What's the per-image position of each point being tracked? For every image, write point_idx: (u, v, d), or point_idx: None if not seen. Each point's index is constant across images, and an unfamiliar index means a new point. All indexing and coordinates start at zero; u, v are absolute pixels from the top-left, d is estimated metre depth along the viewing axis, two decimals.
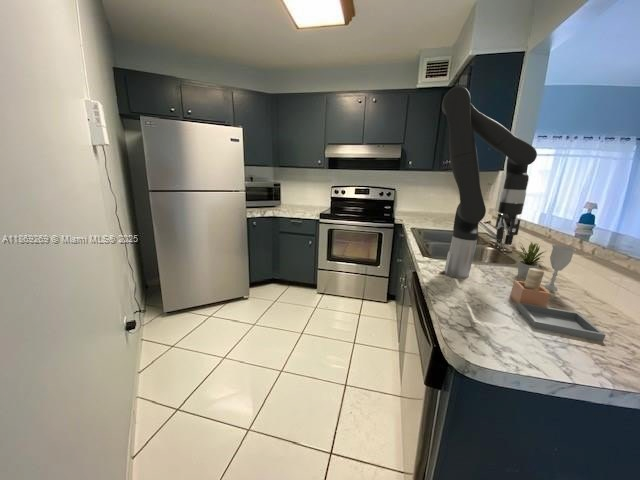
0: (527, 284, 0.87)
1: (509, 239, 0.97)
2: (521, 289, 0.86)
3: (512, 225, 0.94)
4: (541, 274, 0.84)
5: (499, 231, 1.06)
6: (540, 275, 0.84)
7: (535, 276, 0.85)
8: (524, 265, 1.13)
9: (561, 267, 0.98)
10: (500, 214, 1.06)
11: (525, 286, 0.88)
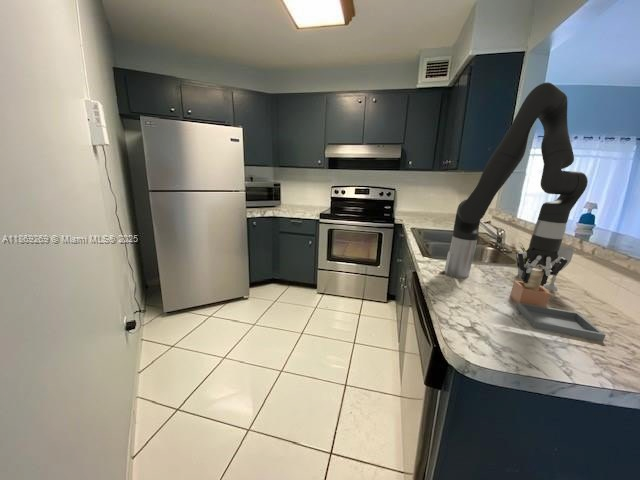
0: (527, 284, 0.87)
1: None
2: (521, 289, 0.86)
3: (562, 266, 0.83)
4: (541, 274, 0.84)
5: None
6: (540, 275, 0.84)
7: (535, 276, 0.85)
8: (524, 265, 1.13)
9: None
10: (521, 253, 0.85)
11: (525, 286, 0.88)
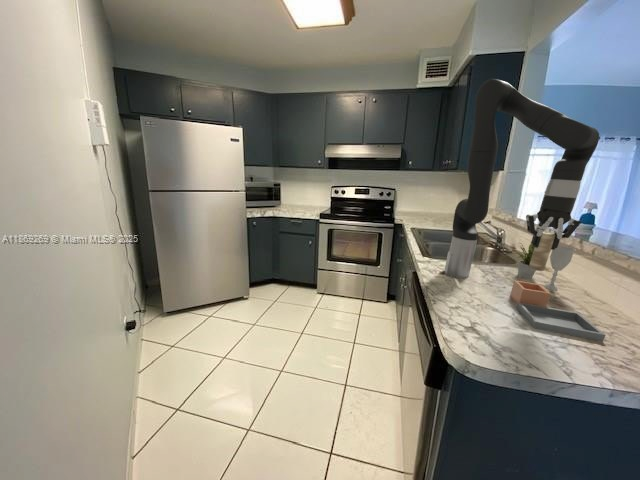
0: (538, 249, 0.83)
1: None
2: (521, 289, 0.86)
3: None
4: (552, 237, 0.81)
5: None
6: (551, 238, 0.81)
7: (546, 239, 0.81)
8: (524, 265, 1.13)
9: (561, 267, 0.98)
10: (532, 215, 0.82)
11: (535, 251, 0.84)
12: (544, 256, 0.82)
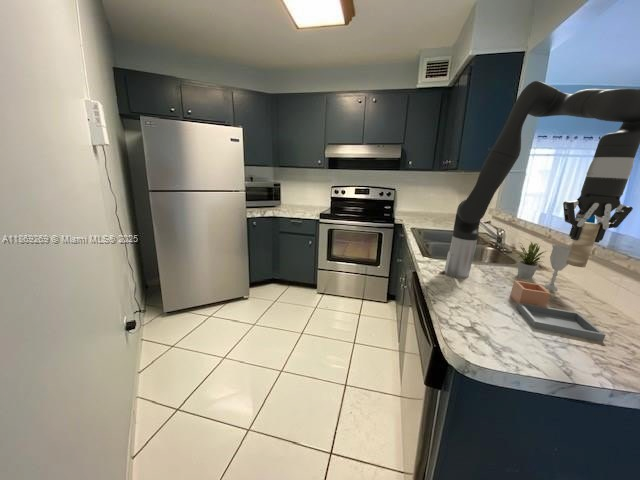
0: (578, 242, 0.70)
1: None
2: (521, 289, 0.86)
3: None
4: (597, 227, 0.67)
5: None
6: (596, 228, 0.67)
7: (590, 230, 0.68)
8: (524, 265, 1.13)
9: (561, 267, 0.98)
10: None
11: (574, 244, 0.71)
12: (586, 251, 0.69)
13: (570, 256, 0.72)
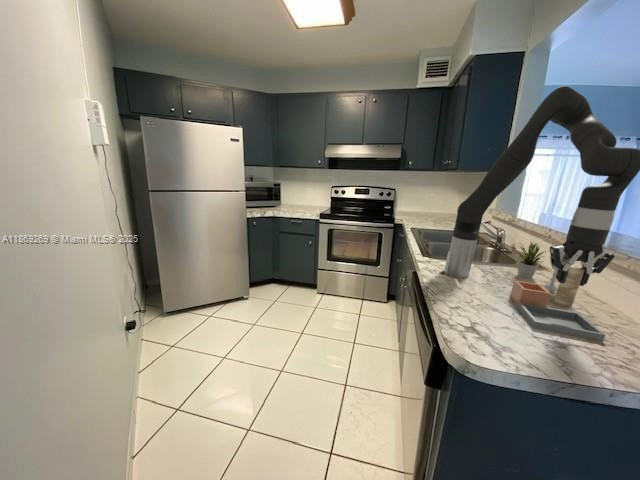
0: (564, 284, 0.73)
1: None
2: (521, 289, 0.86)
3: None
4: (581, 272, 0.71)
5: None
6: (580, 273, 0.71)
7: (574, 275, 0.71)
8: (524, 265, 1.13)
9: None
10: (557, 248, 0.72)
11: (561, 286, 0.74)
12: (572, 293, 0.73)
13: (557, 297, 0.75)
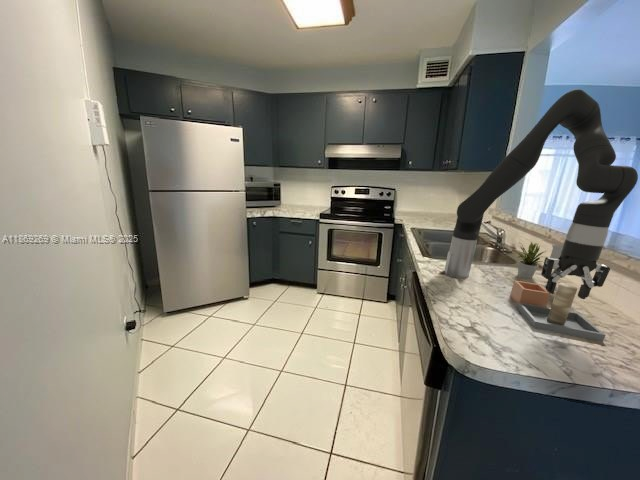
0: (557, 303, 0.75)
1: None
2: (521, 289, 0.86)
3: (606, 275, 0.70)
4: (574, 291, 0.72)
5: None
6: (572, 292, 0.72)
7: (567, 294, 0.73)
8: (524, 265, 1.13)
9: None
10: (553, 260, 0.73)
11: (554, 304, 0.76)
12: (564, 312, 0.74)
13: (550, 315, 0.77)
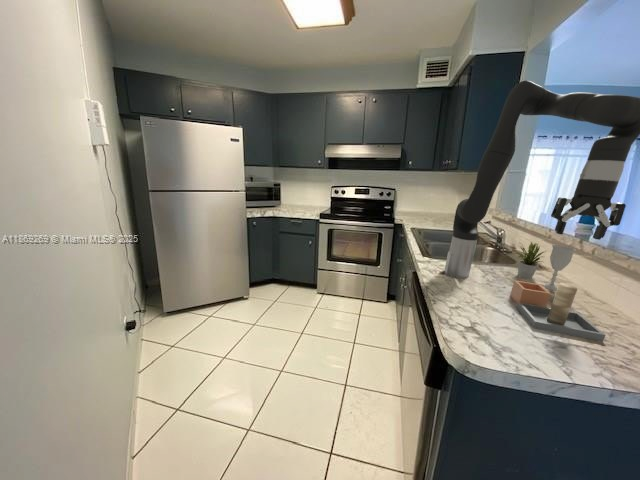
0: (557, 303, 0.75)
1: None
2: (521, 289, 0.86)
3: None
4: (574, 291, 0.72)
5: None
6: (573, 292, 0.72)
7: (567, 293, 0.73)
8: (524, 265, 1.13)
9: (561, 267, 0.98)
10: None
11: (554, 304, 0.76)
12: (564, 312, 0.74)
13: (550, 315, 0.77)
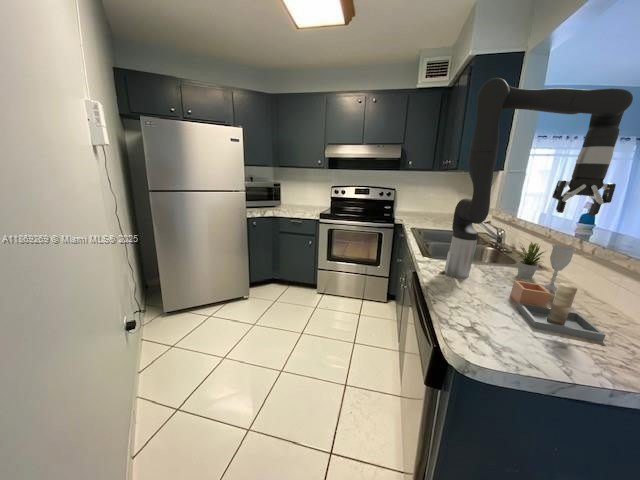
0: (557, 303, 0.75)
1: None
2: (521, 289, 0.86)
3: None
4: (574, 291, 0.72)
5: None
6: (573, 292, 0.72)
7: (567, 293, 0.73)
8: (524, 265, 1.13)
9: (561, 267, 0.98)
10: None
11: (554, 304, 0.76)
12: (564, 312, 0.74)
13: (550, 315, 0.77)
